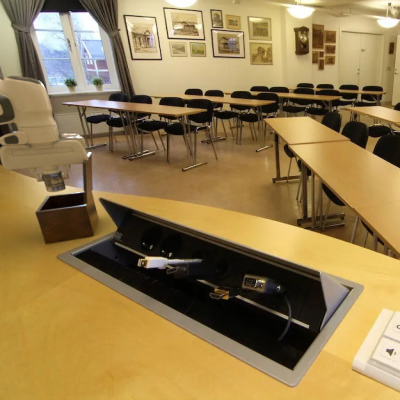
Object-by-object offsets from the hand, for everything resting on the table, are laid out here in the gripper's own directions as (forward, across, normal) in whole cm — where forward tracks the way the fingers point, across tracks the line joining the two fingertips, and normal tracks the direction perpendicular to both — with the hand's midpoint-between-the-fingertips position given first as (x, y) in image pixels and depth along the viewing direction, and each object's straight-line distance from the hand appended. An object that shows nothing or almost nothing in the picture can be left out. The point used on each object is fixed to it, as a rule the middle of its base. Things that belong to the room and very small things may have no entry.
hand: (53, 180), depth 99 cm
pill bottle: (+4, 0, 0) cm, 4 cm away
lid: (+1, -8, -2) cm, 8 cm away
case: (+19, -1, -2) cm, 19 cm away
